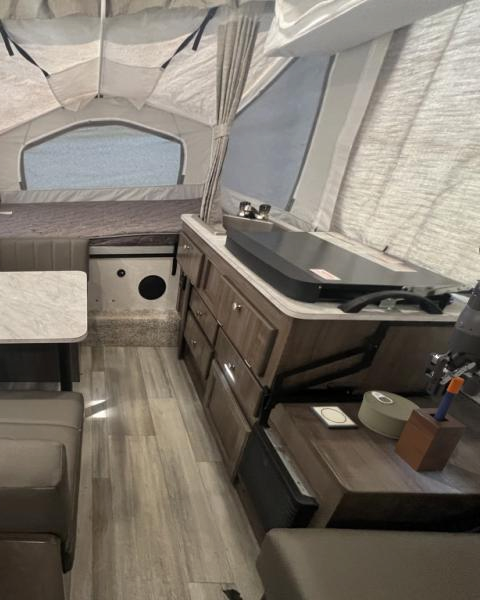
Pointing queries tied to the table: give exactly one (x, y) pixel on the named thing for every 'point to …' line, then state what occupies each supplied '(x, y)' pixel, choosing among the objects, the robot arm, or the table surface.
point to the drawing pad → (333, 417)
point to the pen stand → (428, 440)
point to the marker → (448, 398)
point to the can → (385, 413)
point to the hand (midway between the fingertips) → (450, 394)
